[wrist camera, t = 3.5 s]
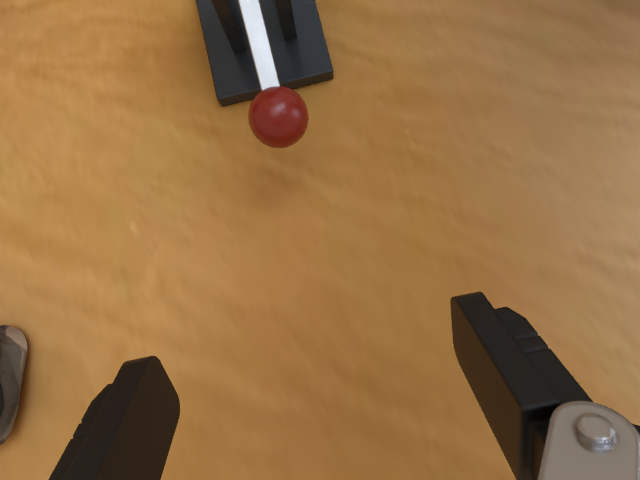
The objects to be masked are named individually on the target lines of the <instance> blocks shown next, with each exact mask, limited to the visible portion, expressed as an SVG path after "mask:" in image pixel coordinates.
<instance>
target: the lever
mask: <svg viewBox="0 0 640 480" xmlns="http://www.w3.org/2000/svg"><path fill="white" fill-rule="evenodd" d="M238 3H239V7H240V11H241V15H242V19H243V22H244V26H245V30H246V34H247V38H248V42H249V46H250V49H251V53H252V57H253V61H254V65H255V69H256V73H257V76H258V80H259V84H260V88H261V91H260V92H259V93H258V94H257V95H256V96H255V97H254V99H253V100H252V102H251V104H250V108H249V113H248V119H249V125H250V128H251V130H252V132H253V134H254V135H255V136H256V138H257V139H258V140H259V141H261V142H262V143H263V144H265V145H267V146H270V147H273V148H285V147H289V146H291V145H293V144H295V143H296V142H298V141H299V140H300V139H301V138H302V136H303V135H304V133H305V131H306V129H307V126H308V110H307V107H306V104H305V102H304V101H303V99H302V98H301V97H300V95H299V94H298V93H296V92H295V91H294V90H292V89H290V88H288V87H284V86H281V85H280V81H279V77H278V72H277V68H276V64H275V60H274V56H273V52H272V48H271V44H270V40H269V36H268V32H267V28H266V24H265V20H264V16H263V12H262V8H261V4H260V0H238Z"/></svg>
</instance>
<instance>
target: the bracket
mask: <svg viewBox="0 0 640 480" xmlns="http://www.w3.org/2000/svg"><path fill="white" fill-rule="evenodd" d="M196 3H197V7H198V12H199V16H200V21H201V26H202V30H203V35H204V40H205V44H206V49H207V53H208V58H209V63H210V67H211V72H212V77H213V81H214V86H215V90H216V95H217V100H218V101H219V103H220V104H221V106H222V107H223V106H227V105H231V104H235V103H239V102H243V101H247V100H251V99H254V97H255V96H256V95H257V94H258V93H259V92H260V91H261V88H260V84H259V80H258V76H257V73H256V69H255V65H254V61H253V57H252V53H251V49H250V46H249V42H248V38H247V34H246V30H245V26H244V22H243V19H242V15H241V11H240V7H239V3H238V0H196ZM260 4H261V8H262V12H263V16H264V20H265V24H266V28H267V32H268V36H269V40H270V44H271V48H272V52H273V56H274V60H275V64H276V68H277V72H278V77H279V81H280V85H281V86H284V87H288V88H290V89H294V88H298V87H302V86H306V85H310V84H314V83H318V82H322V81H326V80H330V79H333V68H332V64H331V60H330V57H329V53H328V49H327V45H326V41H325V37H324V34H323V30H322V26H321V22H320V18H319V15H318V11H317V7H316V3H315V0H260Z"/></svg>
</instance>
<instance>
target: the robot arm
mask: <svg viewBox="0 0 640 480" xmlns="http://www.w3.org/2000/svg"><path fill="white" fill-rule="evenodd" d="M451 318H452V332H453V344H454V349H455V353H456V356H457V359H458V362H459V364H460V367H461V369H462V371H463V373H464V375H465V377H466V379H467V381H468V383H469V385H470V387H471V389H472V391H473V393H474V395H475V397H476V399H477V401H478V403H479V405H480V407H481V409H482V411H483V413H484V415H485V417H486V419H487V421H488V423H489V425H490V427H491V429H492V431H493V433H494V435H495V437H496V439H497V441H498V443H499V445H500V447H501V449H502V451H503V453H504V455H505V457H506V459H507V461H508V463H509V465H510V467H511V470H512V472H513V474H514V476H515V478H516V480H640V426H638V425H634V424H631V423H630V422H629V421H628V420H627V419H626V418H625V417H623V416H622V415H621V414H619V413H618V412H616V411H614V410H613V409H610V408H608V407H606V406H604V405H601V404H598V403H594V402H593V401H592V400H591V399H590V398H589V396H588V395H587V394H586V393H585V391H584V390H583V389H582V388H581V386H580V385H579V384H578V383H577V381H576V380H575V379H574V378H573V376H572V375H571V374H570V373H569V372H568V370H567V369H566V368H565V367H564V365H563V364H562V363H561V362H560V360H559V359H558V358H557V357H556V355H555V354H554V353H553V352H552V350H551V349H548V346H547V344H546V343H545V342H544V341H543V339H542V338H541V337H540V336H538V334H537V332H536V331H535V329H534V328H533V327H532V326H531V324H530V323H529V322H528V321H527V319H526V318H525V317H523V316H521V315H520V314H518V313H516V312H515V311H513V310H511V309H510V308H508V307H503V308H498V309H494V308H493V307H492V305H491V304H490V302H489V301H488V300H487V298H486V297H485V295H484V294H483V293H482V292H475V293H470V294H465V295H460V296H455V297H451ZM179 415H180V403H179V398H178V395H177V393H176V391H175V389H174V387H173V385H172V383H171V381H170V379H169V377H168V375H167V373H166V371H165V369H164V368H163V366H162V364H161V362H160V360H159V359H158V358H157V357H156V356H150V357H145V358H140V359H135V360H130V361H126V362H124V363H123V365H122V366H121V368H120V370H119V372H118V374H117V376H116V378H115V380H114V382H113V383H112V384H108V385H107V386H106V387H105V388H104V389H103V390H102V391H101V392H100V393H99V394H98V395H97V397H96V398H95V399H94V400H93V401H92V402H91V404H90V406H89V407H88V409H87V411H86V413H85V415H84V416H83V418H82V423H81V424H79V425H78V427H77V429H76V431H75V433H74V435H73V439H71V440H70V442H69V444H68V445H67V447H66V449H65V451H64V453H63V454H62V456H61V458H60V460H59V462H58V464H57V465H56V467H55V469H54V471H53V473H52V474H51V476H50V478H49V480H160V479H161V476H162V473H163V469H164V466H165V463H166V459H167V456H168V453H169V449H170V446H171V443H172V439H173V436H174V433H175V429H176V426H177V423H178V419H179Z"/></svg>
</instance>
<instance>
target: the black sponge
mask: <svg viewBox="0 0 640 480" xmlns="http://www.w3.org/2000/svg"><path fill="white" fill-rule="evenodd" d="M26 355H27V341H26V338H25V336H24V334H23V333H22V332H21V331H20V330H19V329H18V328H15V327H12V326H6V325H3V326H0V445H1V444H2V443H4V442H5V441H6V440H7V438H8V436H9V434H10V433H11V431H12V428H13V425H14V422H15V419H16V415H17V412H18V408H19V400H20V391H21V384H22V379H23V372H24V367H25V362H26Z"/></svg>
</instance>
